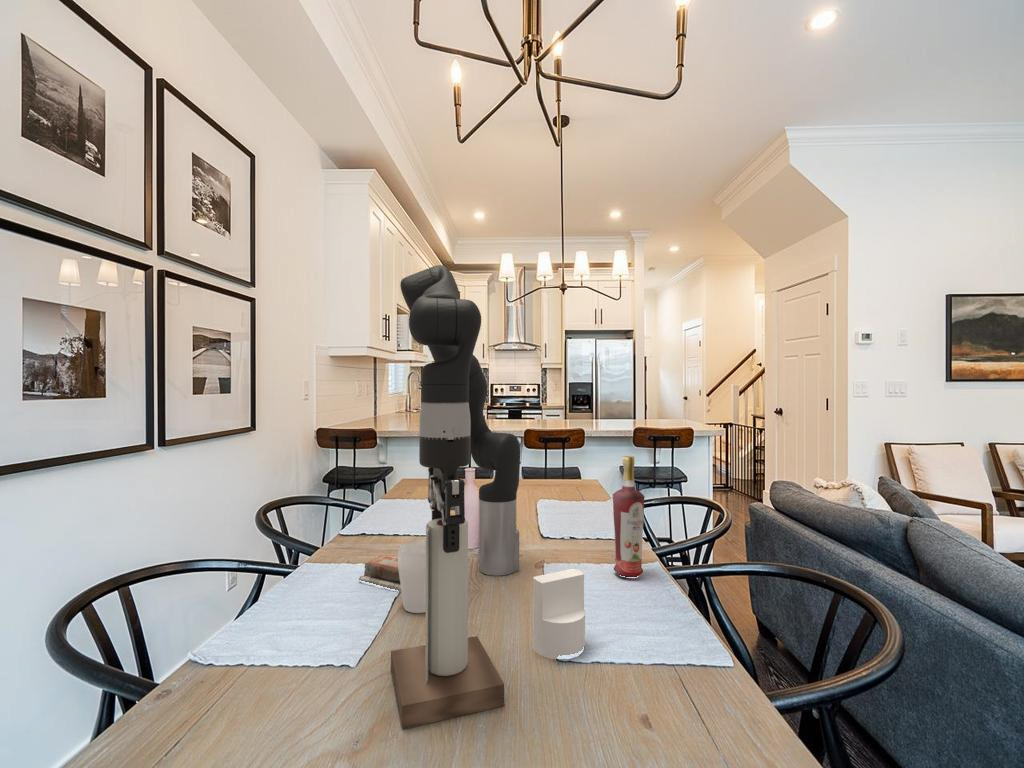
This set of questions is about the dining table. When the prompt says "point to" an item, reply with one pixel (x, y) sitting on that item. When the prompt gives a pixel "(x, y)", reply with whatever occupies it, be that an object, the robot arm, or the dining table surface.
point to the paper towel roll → (446, 602)
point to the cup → (413, 575)
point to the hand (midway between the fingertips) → (444, 542)
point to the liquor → (628, 524)
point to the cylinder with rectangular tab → (558, 613)
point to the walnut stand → (444, 686)
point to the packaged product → (382, 572)
